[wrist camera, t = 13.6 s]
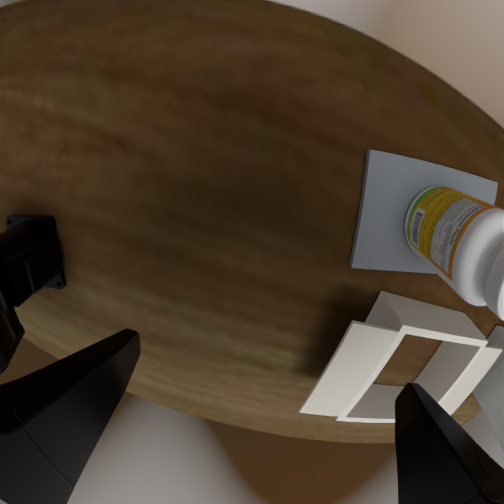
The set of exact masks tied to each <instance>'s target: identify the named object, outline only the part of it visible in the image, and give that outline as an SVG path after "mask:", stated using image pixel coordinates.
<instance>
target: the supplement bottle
mask: <svg viewBox="0 0 504 504" xmlns="http://www.w3.org/2000/svg"><path fill="white" fill-rule="evenodd" d="M405 235H406V239H407V242H408V244H409V246H410V248H411V249H412V250H413V252H414V253H415V254H416V255H417V256H418V257H420V258H421V259H422V260H423V261H424V262H425V263H426V264H427V265H428V266H429V267H430V268H432V269H433V270H434V271H435V272H436V273H437V274H438V275H439V276H440V277H441V278H442V279H443V280H444V281H445V282H446V283H447V284H448V285H449V286H450V287H451V288H452V289H453V290H454V291H455V292H456V293H457V294H458V295H459V296H460V297H462V298H463V299H464V300H465V301H466V302H468V303H470V304H472V305H475V306H486V305H487V306H488V307H489V309H490V310H492V311H493V312H494V313H495V314H496V315H497V316H498V317H499V318H500V319H502V320H503V321H504V210H502V209H500V208H498V207H496V206H494V205H491V204H489V203H487V202H484V201H482V200H479V199H477V198H474V197H472V196H469V195H467V194H465V193H462V192H459V191H457V190H454V189H451V188H448V187H445V186H433V187H429V188H427V189H425V190H424V191H422V192H421V193H420V194H418V195H417V197H416V198H415V199H414V200H413V202H412V203H411V205H410V207H409V210H408V212H407V216H406V220H405Z"/></svg>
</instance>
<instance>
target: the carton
mask: <svg viewBox="0 0 504 504" xmlns="http://www.w3.org/2000/svg"><path fill="white" fill-rule="evenodd" d="M405 334H410V335H415V336H421V337H426V338H432V339H438V340H443V342H442V343H441V345H440V346H439V348H438V349H437V351H436V352H435V353H434V355H433V356H432V358H431V359H430V361H429V362H428V363H427V365H426V366H425V368H424V369H423V370H422V372H421V373H420V374H419V376H418V377H417V378H416V379H415V381H414V382H413V383H418V384H419V385H420V386H421V387H422V388H423V389H424V390H425V391H426V392H427V393H428V394H429V395H430V396H431V397H432V398H433V399H434V400H435V401H436V402H437V403H438V404H439V405H440V406H441V407H442V408H443V409H444V410H445V411H446V412H447V413H448V414H449V415H451V414H452V413H453V412H454V411H455V410H456V409H457V408H458V407H459V406H460V405H461V403H462V402H463V401H464V400H465V399H466V398H467V397H468V395H469V394H470V393H471V392H472V391H473V389H474V388H475V387H476V386H477V385H478V383H479V382H480V381H481V379H482V378H483V377H484V376H485V374H486V373H487V372H488V370H489V369H490V368H491V366H492V365H493V363H494V362H495V361H496V359H497V358H498V356H499V355H500V354H501V352H502V351H503V349H502V348H499V347H493V346H486V344H487V343H488V340H487V339H486V338H485V337H484V335H483V334H482V333H481V332H480V331H479V329H478V328H477V327H476V326H475V325H474V324H473V322H472V321H471V320H470V319H469V318H468V317H467V316H466V314H465V313H462V312H458V311H455V310H451V309H447V308H444V307H440V306H436V305H432V304H429V303H425V302H421V301H418V300H414V299H410V298H407V297H403V296H399V295H396V294H392V293H388V292H385V291H381V292H380V294H379V296H378V298H377V300H376V302H375V304H374V306H373V308H372V310H371V312H370V313H369V315H368V317H367V319H366V321H365V323H363V322H359V321H354V320H352V322H351V324H350V325H349V327H348V329H347V331H346V333H345V335H344V336H343V338H342V340H341V342H340V344H339V345H338V347H337V349H336V351H335V352H334V354H333V356H332V358H331V359H330V361H329V363H328V364H327V366H326V368H325V369H324V371H323V373H322V374H321V376H320V377H319V379H318V381H317V382H316V384H315V385H314V387H313V389H312V390H311V392H310V393H309V395H308V396H307V398H306V399H305V401H304V402H303V404H302V405H301V407H300V408H299V412H300V413H308V414H317V415H326V416H335V419H336V421H348V422H372V423H395V400H396V398H397V396H398V395H399V393H400V392H401V391H402V389H403V388H404V386H392V385H380V384H372V383H373V381H374V380H375V379H376V377H377V376H378V374H379V373H380V372H381V370H382V369H383V367H384V366H385V365H386V363H387V362H388V360H389V359H390V357H391V356H392V354H393V353H394V351H395V350H396V348H397V347H398V345H399V343H400V342H401V340H402V339H403V337H404V335H405Z"/></svg>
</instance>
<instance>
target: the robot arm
mask: <svg viewBox="0 0 504 504" xmlns="http://www.w3.org/2000/svg"><path fill="white" fill-rule="evenodd" d="M49 222H50V224H49ZM7 227H8V230H6V231H4V232H2V233H0V374H1V373H3V372H4V371H5V369H6V368H7V367H8V365H9V363H10V361H11V359H12V357H13V354H14V353H15V351H16V348H17V346H18V344H19V342H20V340H21V339H22V337H23V335H24V333H25V330H24V328H23V326H22V325H21V323H20V321H19V319H18V317H17V314H16V312H15V309H14V308H15V307H19V306H20V305H21V304H23V303H24V302H25V301H26V300H27V299H28V298H29V297H31V296H32V295H33V294H36V293H37V292H38V291H39V290H40V289H41V288H43V287H44V286H46V287H51V288H56V289H63V288H64V287H65V286H66V282H65V278H64V273H63V268H62V263H61V258H60V253H59V247H58V241H57V234H56V227H55V221H54V219H53V217H52V216H28V215H11V216H9V217H7ZM60 283H61V284H60ZM140 351H141V349H140V338H139V333H138V332H137V331H134V330H131V329H124V330H122V331H120V332H118V333H116V334H114V335H112V336H109V337H107V338H105V339H103V340H101V341H99V342H97V343H95V344H93V345H91V346H89V347H86V348H84V349H82V350H80V351H78V352H76V353H74V354H72V355H69V356H67V357H65V358H63V359H61V360H59V361H57V362H55V363H52V364H51V365H48V366H46V367H44V368H42V369H39V370H37V371H35V372H33V373H31V374H28V375H26V376H24V377H21V378H19V379H16V380H13V381H11V382H8V383H5V384H2V385H0V504H67V502H68V500H69V498H70V496H71V494H72V492H73V489H74V486H75V485H76V483H77V481H78V479H79V477H80V475H81V473H82V471H83V469H84V467H85V465H86V463H87V461H88V459H89V458H90V456H91V454H92V452H93V450H94V448H95V446H96V444H97V442H98V440H99V438H100V437H101V435H102V433H103V431H104V429H105V427H106V425H107V424H108V422H109V420H110V418H111V416H112V414H113V413H114V411H115V409H116V407H117V405H118V404H119V402H120V400H121V398H122V396H123V394H124V392H125V390H126V388H127V385H128V383H129V380H130V378H131V375H132V373H133V371H134V368H135V366H136V363H137V361H138V359H139V356H140ZM395 447H396V458H397V474H398V504H504V469H503V468H502V467H501V466H500V465H498V464H497V463H496V462H495V461H494V460H493V459H492V458H490V456H489V455H488V454H487V453H486V452H485V451H484V450H483V449H482V448H481V447H480V446H479V445H478V444H476V442H475V441H474V440H473V439H472V438H471V437H470V436H469V435H468V433H466V431H465V430H464V429H463V428H462V427H461V426H460V425H459V424H458V423H457V422H456V421H455V420H454V419H453V418H452V417H451V416H450V415H449V414H448V413H447V412H446V411H445V410H444V409H443V408H442V407H441V406H440V405H439V404H438V403H437V402H436V401H435V400H434V399H433V398H432V397H431V396H430V395H429V394H428V393H427V392H426V391H425V390H424V389H423V388H422V387H421V386H420V385H419V384H418V383H407V384H406V385H405V386H404V388H403V389H402V391H401V392H400V393H399V395H398V396H397V398H396V400H395Z"/></svg>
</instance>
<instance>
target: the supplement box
mask: <svg viewBox="0 0 504 504" xmlns="http://www.w3.org/2000/svg"><path fill="white" fill-rule="evenodd" d="M487 340H488V343H487V344H486V346H493V347H499V348H502V349H503V351H502V352H501V354H500V355H499V356H498V358H497V359H496V361H495V362H494V363H493V365H492V366H491V368H490V369H489V370H488V372H487V373H486V374H485V376H484V377H483V378H482V379H481V381H480V382H479V383H478V385H477V386H476V387H475V388H474V389H473V391H472V393H473V395H474V397H475V398H476V400H477V402H478V403H479V405H480V407H481V409H482V410H483V412H484V414H485V416H486V417H487V419H488V421H489V423H490V425H491V427H492V429H493V430H494V432H495V434H496V436H497V438H498V440H499V442H500V444H501V446H502V448H503V450H504V327H501V326H496V327H495V328H494V329H493V331H492V333H491V334H490V336H489V337H488V339H487Z"/></svg>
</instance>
